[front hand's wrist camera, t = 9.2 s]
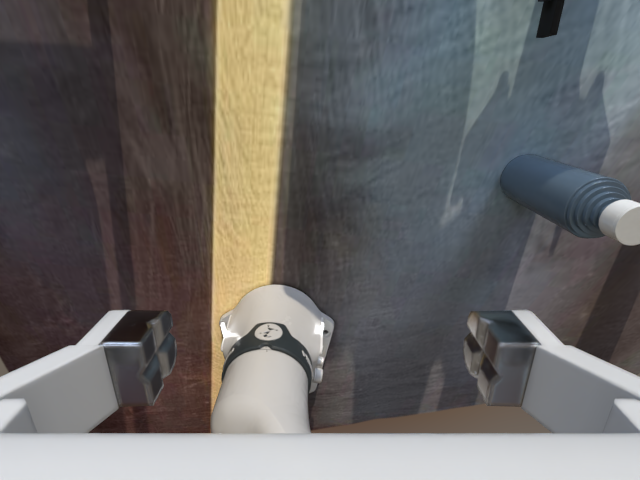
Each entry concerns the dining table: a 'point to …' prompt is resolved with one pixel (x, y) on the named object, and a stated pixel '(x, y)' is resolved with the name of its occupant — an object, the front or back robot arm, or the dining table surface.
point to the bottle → (562, 192)
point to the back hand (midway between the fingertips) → (607, 38)
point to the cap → (621, 222)
